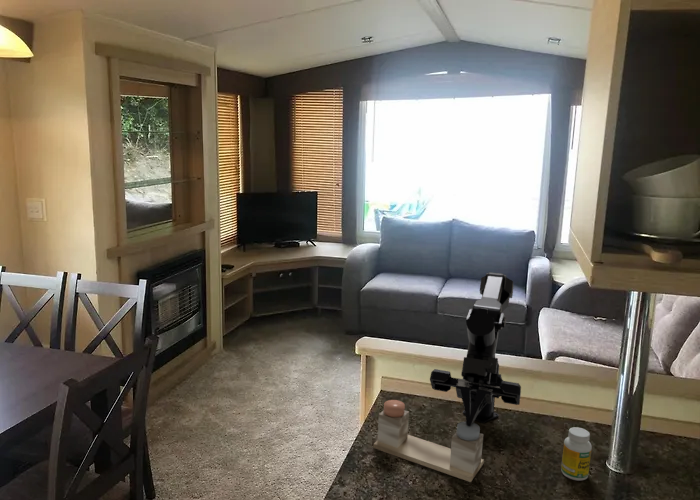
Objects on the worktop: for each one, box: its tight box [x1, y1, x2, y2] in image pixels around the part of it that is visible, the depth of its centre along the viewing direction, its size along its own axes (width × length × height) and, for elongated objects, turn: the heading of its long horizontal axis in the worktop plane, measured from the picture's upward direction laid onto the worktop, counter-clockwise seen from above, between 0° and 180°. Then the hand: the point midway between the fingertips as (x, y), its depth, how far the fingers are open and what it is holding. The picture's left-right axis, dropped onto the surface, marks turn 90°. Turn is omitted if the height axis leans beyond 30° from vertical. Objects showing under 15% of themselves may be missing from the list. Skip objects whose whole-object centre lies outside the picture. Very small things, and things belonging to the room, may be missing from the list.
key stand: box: [372, 409, 485, 483], centre depth 123 cm, size 8×22×8 cm, turn 59°
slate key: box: [456, 420, 481, 441], centre depth 117 cm, size 5×5×3 cm
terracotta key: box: [383, 399, 406, 417], centre depth 126 cm, size 5×5×3 cm
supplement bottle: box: [560, 426, 593, 482], centre depth 117 cm, size 5×5×10 cm
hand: (468, 425), depth 117 cm, fingers closed, pressing on slate key
